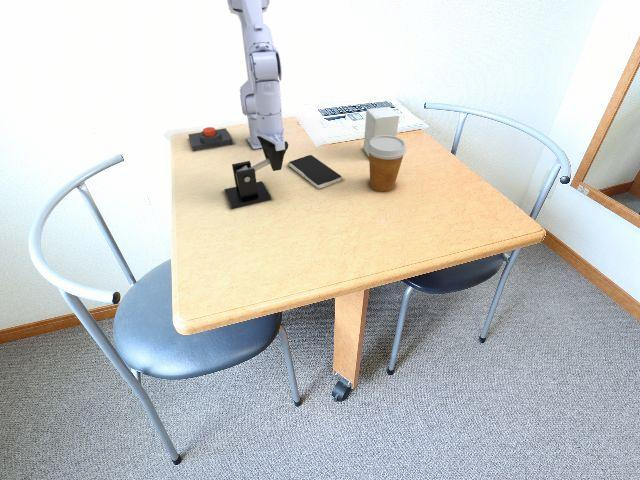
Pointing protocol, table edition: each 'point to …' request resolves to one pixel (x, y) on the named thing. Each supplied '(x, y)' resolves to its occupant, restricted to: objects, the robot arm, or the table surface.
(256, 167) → the lever
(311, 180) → the smartphone
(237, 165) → the bracket
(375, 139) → the disposable coffee cup
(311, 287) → the table surface
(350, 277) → the table surface
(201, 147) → the button box
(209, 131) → the button
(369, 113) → the white packaging box
